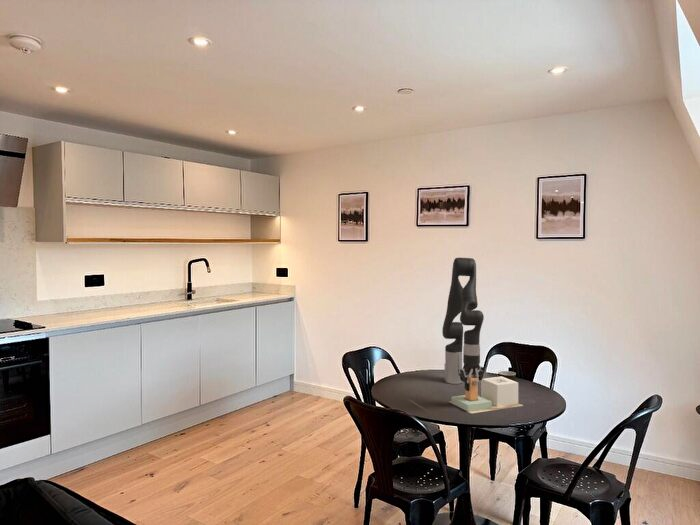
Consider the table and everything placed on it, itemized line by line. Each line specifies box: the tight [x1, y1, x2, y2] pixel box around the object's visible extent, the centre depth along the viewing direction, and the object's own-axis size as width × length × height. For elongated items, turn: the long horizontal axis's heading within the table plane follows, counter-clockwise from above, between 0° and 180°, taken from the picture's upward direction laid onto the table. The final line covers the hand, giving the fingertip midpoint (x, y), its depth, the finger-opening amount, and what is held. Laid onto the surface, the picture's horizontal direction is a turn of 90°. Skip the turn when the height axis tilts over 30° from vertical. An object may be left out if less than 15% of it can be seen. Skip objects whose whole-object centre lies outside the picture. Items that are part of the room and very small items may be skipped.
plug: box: [464, 376, 479, 401], centre depth 222 cm, size 5×4×10 cm
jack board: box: [448, 400, 524, 414], centre depth 226 cm, size 18×29×1 cm, turn 112°
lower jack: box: [451, 394, 492, 413], centre depth 223 cm, size 13×13×3 cm
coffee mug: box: [493, 370, 517, 382], centre depth 247 cm, size 12×9×10 cm
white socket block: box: [480, 376, 519, 407], centre depth 229 cm, size 12×12×10 cm
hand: (471, 389), depth 223 cm, fingers closed on plug, 4 cm apart
